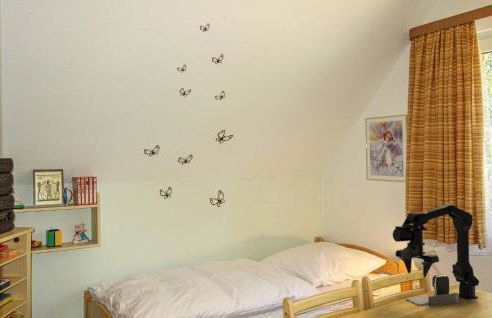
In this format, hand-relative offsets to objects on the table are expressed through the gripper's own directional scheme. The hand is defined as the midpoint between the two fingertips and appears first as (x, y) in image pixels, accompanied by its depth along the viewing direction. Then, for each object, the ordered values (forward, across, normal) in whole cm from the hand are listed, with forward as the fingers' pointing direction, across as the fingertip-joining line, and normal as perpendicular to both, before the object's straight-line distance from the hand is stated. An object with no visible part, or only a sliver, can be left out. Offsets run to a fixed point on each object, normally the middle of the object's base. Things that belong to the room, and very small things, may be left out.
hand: (416, 275), depth 189 cm
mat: (+12, +1, +2) cm, 12 cm away
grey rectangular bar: (+12, +9, +6) cm, 16 cm away
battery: (+12, +4, +11) cm, 17 cm away
